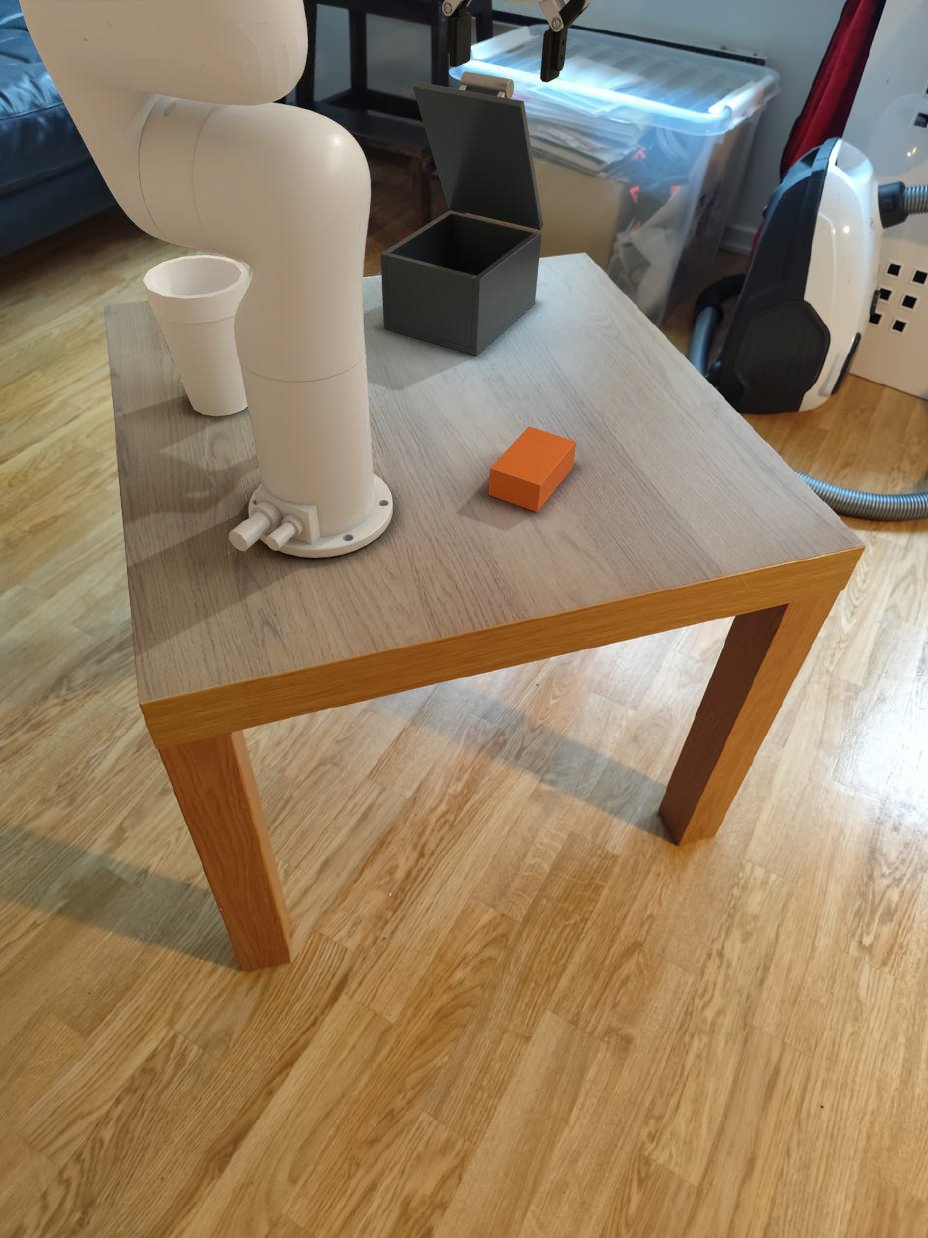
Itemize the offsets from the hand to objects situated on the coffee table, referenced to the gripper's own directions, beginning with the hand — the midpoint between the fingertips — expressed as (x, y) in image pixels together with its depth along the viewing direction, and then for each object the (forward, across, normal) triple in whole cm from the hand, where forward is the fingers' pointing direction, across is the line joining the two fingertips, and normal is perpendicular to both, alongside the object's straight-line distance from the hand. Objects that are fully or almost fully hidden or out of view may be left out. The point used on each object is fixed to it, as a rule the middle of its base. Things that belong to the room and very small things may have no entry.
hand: (503, 71), depth 79 cm
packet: (+26, +17, -25) cm, 40 cm away
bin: (+26, -5, +2) cm, 27 cm away
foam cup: (+27, -17, -28) cm, 42 cm away
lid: (+10, -5, +5) cm, 12 cm away
